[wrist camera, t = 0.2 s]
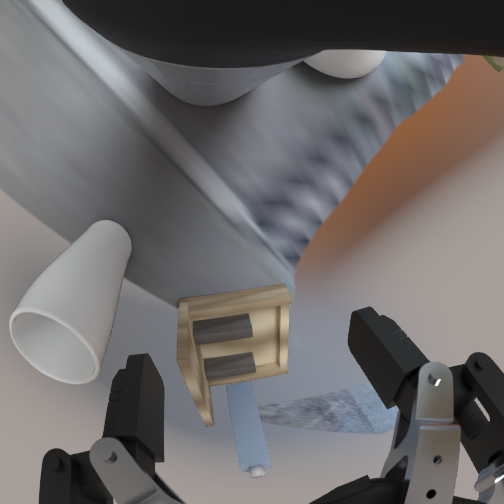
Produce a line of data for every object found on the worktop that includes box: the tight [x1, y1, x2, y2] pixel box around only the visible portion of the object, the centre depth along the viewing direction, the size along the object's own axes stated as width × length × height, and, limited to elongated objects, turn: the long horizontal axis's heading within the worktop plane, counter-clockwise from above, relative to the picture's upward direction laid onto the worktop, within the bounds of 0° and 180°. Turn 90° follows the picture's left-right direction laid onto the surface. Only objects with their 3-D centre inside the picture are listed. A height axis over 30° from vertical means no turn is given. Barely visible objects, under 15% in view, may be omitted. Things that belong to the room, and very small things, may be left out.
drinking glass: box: [9, 220, 132, 385], centre depth 18 cm, size 7×7×15 cm
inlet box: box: [177, 284, 291, 427], centre depth 29 cm, size 14×12×9 cm
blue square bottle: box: [226, 382, 271, 478], centre depth 33 cm, size 4×4×16 cm
